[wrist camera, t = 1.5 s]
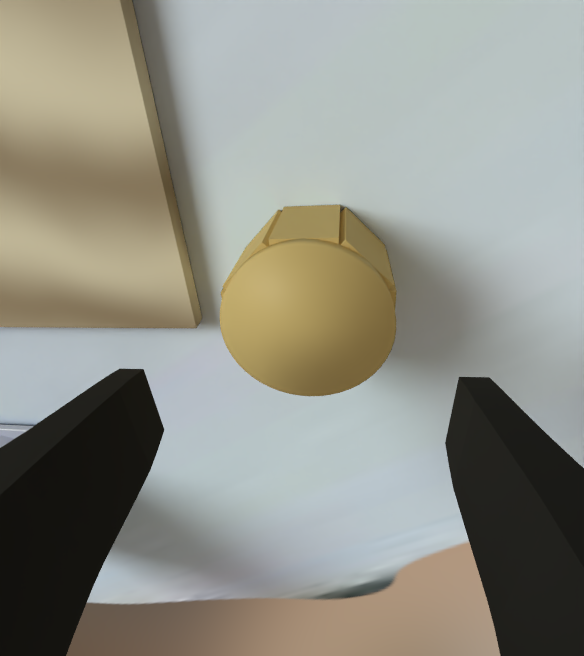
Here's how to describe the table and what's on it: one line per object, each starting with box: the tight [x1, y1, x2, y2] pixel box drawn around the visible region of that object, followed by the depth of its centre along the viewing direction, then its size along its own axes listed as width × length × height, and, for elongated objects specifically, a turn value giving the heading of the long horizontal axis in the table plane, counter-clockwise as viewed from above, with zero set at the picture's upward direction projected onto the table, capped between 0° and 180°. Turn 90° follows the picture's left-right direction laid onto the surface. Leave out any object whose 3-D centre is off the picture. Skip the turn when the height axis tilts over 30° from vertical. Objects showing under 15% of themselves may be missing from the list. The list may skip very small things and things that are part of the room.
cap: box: [220, 205, 396, 396], centre depth 14 cm, size 5×5×4 cm
